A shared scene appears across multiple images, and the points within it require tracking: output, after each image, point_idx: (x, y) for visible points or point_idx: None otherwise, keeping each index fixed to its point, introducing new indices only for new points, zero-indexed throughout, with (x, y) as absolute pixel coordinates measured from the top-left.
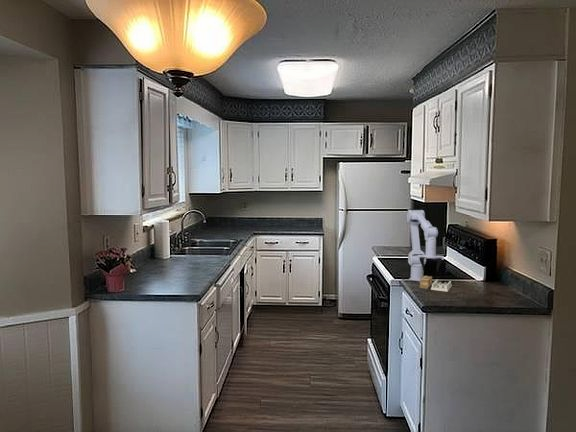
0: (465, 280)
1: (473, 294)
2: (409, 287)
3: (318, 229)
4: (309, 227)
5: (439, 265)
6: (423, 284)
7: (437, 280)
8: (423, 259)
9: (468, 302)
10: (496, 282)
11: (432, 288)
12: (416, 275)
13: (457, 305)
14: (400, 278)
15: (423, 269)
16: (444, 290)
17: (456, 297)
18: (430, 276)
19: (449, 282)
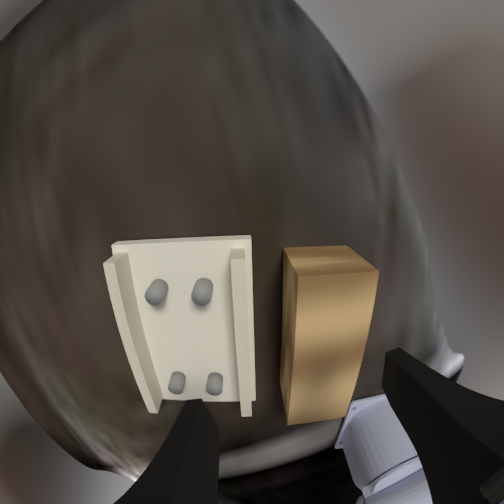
0: None
1: (10, 268)
2: (412, 226)
3: None
4: None
5: (138, 479)
6: (328, 258)
7: (240, 402)
8: (488, 489)
9: (3, 89)
10: (75, 458)
11: (236, 238)
12: (387, 418)
13: (48, 5)
14: None
15: (407, 360)
16: (135, 241)
17: (46, 135)
18: (300, 420)
19: (137, 377)
